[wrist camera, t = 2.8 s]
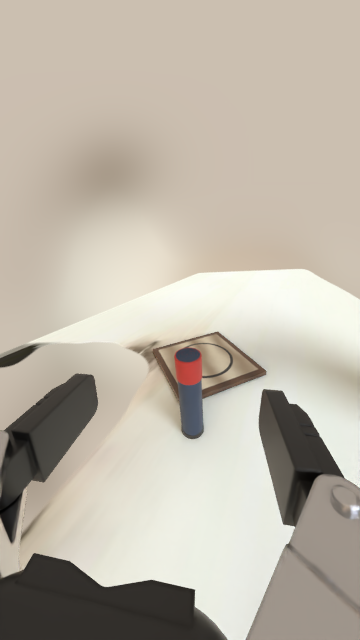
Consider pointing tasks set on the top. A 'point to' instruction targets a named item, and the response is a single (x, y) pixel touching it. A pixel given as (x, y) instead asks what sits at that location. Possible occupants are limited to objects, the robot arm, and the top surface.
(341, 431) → the top surface
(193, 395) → the marker
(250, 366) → the sketch board
